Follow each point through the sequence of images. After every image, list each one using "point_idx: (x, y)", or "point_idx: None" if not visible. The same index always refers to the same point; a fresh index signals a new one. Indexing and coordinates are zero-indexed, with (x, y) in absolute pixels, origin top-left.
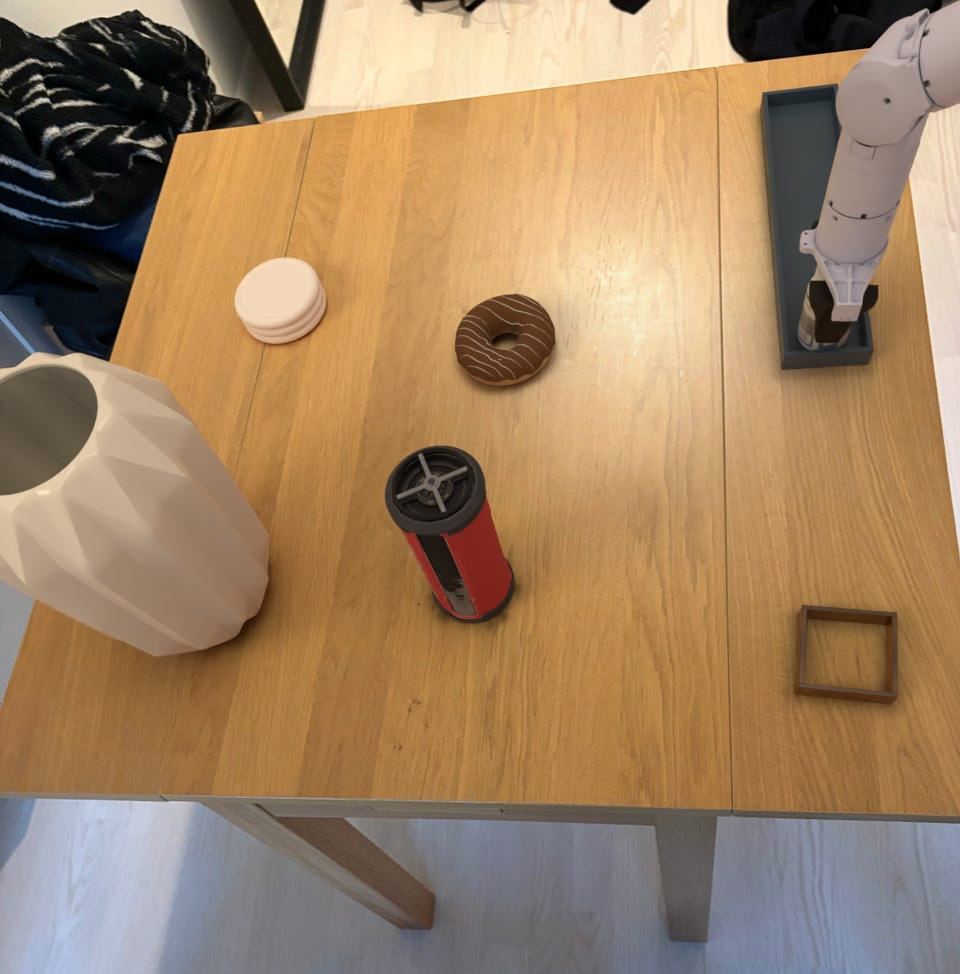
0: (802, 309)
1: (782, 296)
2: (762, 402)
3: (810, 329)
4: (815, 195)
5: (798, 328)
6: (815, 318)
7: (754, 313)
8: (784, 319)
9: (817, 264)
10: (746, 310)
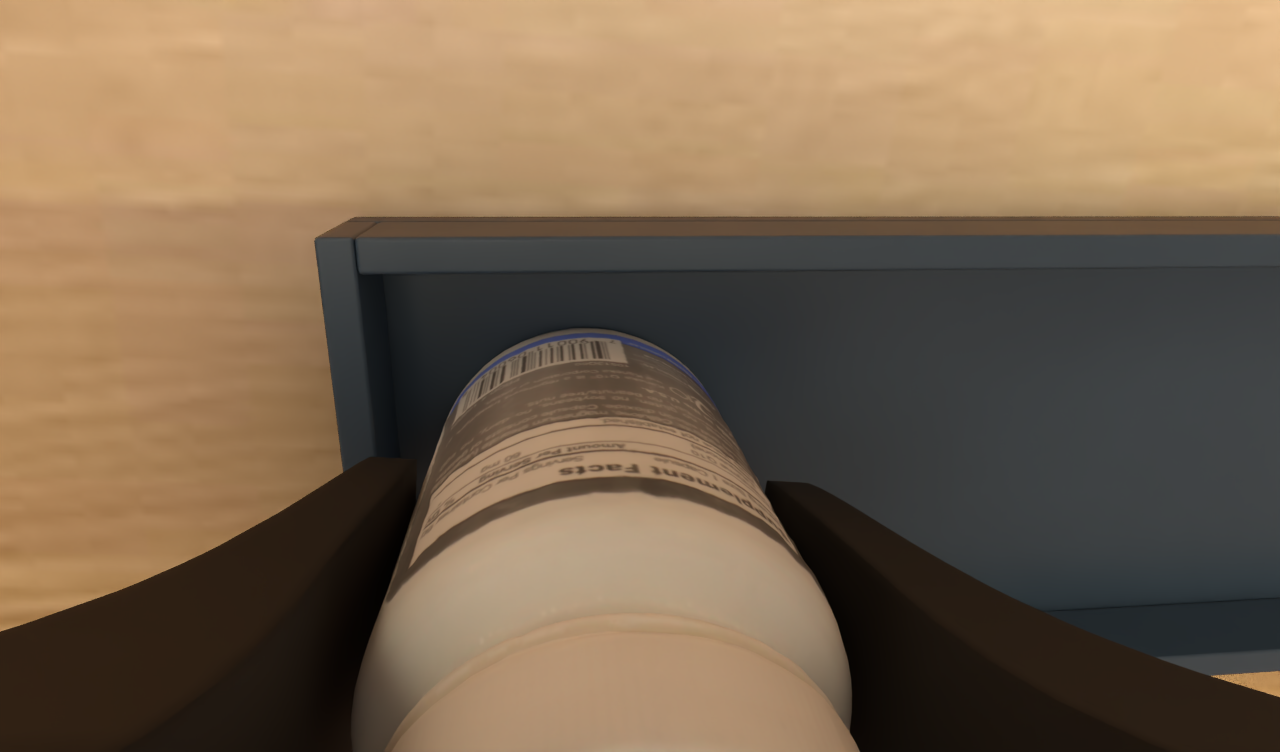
0: (619, 395)
1: (861, 255)
2: (60, 75)
3: (461, 433)
4: None
5: (592, 341)
6: (146, 580)
7: (828, 76)
8: (652, 256)
9: (918, 608)
10: (863, 23)
